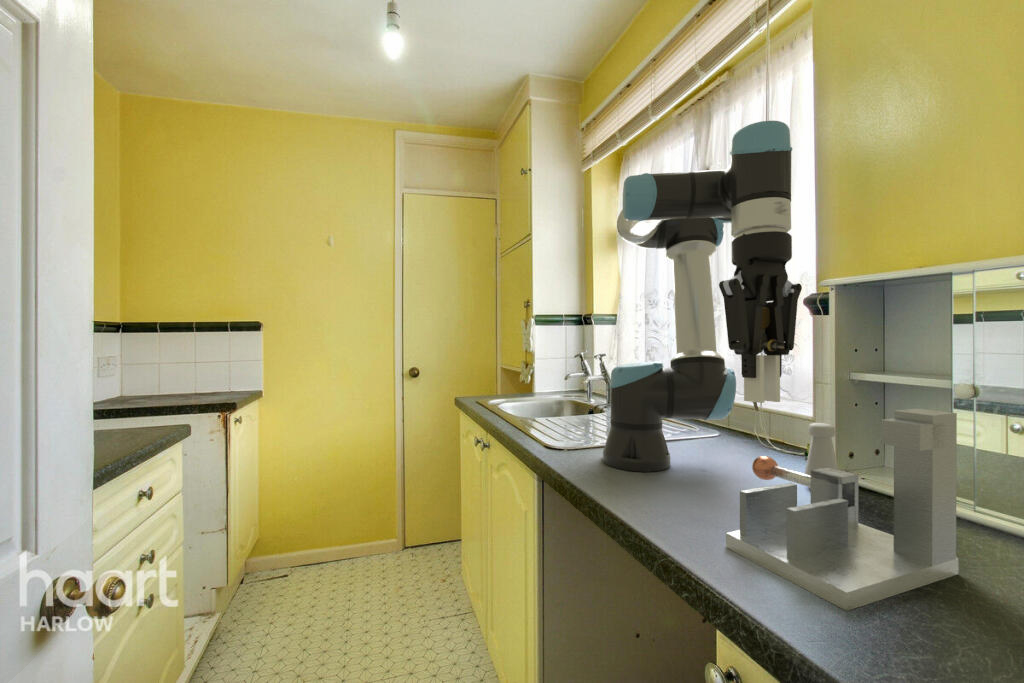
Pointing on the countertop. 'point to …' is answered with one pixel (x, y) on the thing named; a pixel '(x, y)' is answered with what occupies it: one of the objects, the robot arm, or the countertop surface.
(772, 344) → the regulator
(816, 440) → the salt shaker
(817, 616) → the countertop surface
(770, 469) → the lever
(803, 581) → the press
